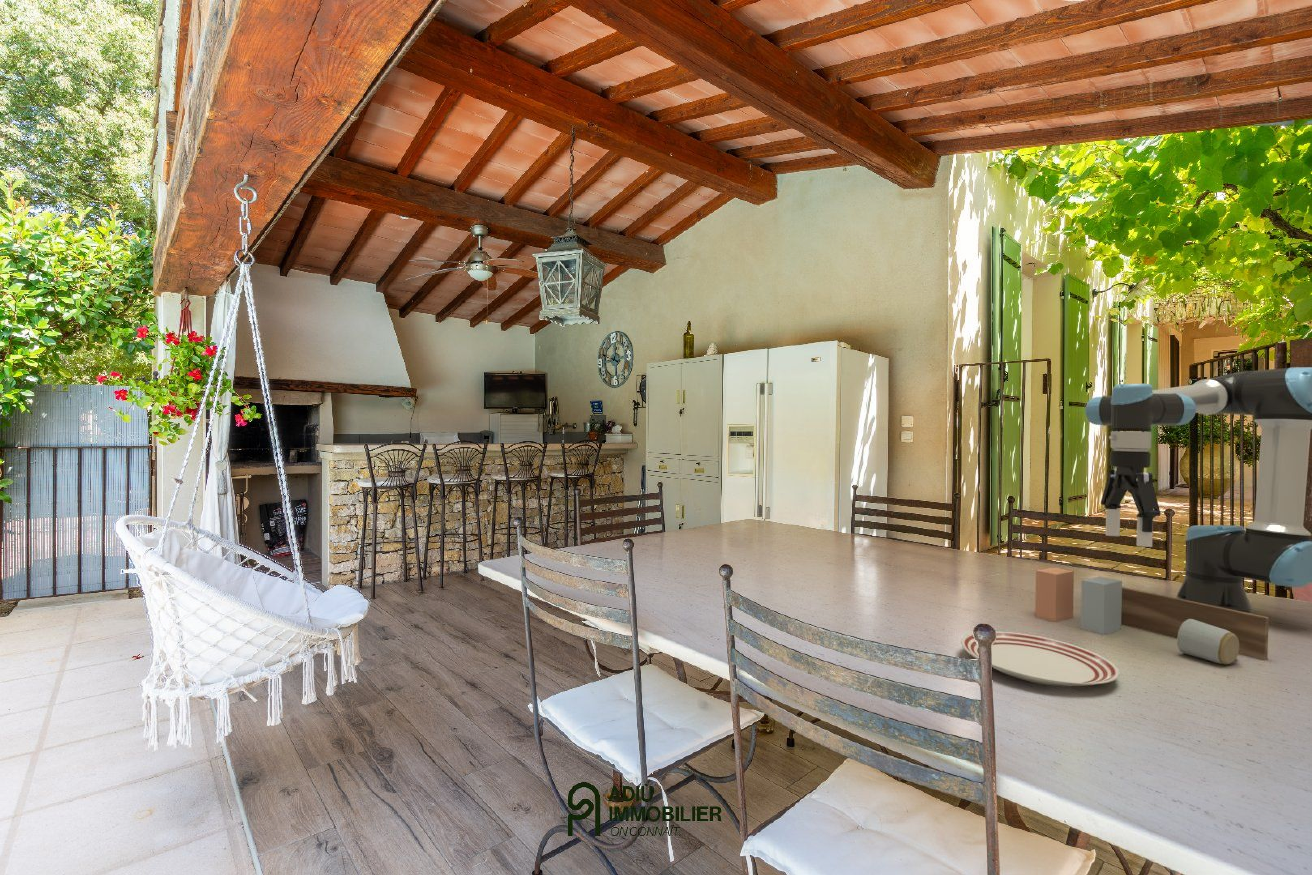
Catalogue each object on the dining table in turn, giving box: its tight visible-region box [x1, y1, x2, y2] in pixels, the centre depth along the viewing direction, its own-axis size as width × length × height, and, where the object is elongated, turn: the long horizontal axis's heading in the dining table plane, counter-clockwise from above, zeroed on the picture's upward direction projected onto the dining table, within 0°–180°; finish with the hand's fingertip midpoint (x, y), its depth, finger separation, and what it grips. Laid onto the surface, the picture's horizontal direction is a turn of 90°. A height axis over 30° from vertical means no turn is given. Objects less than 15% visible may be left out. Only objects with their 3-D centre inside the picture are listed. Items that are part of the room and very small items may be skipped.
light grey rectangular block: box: [1080, 575, 1123, 636], centre depth 150 cm, size 8×5×12 cm, turn 118°
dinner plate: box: [960, 630, 1120, 687], centre depth 126 cm, size 28×27×3 cm
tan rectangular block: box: [1034, 567, 1075, 622], centre depth 160 cm, size 8×5×12 cm, turn 118°
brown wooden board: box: [1121, 586, 1270, 661], centre depth 145 cm, size 1×32×9 cm, turn 28°
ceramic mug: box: [1176, 619, 1239, 666], centre depth 132 cm, size 11×8×8 cm
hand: (1127, 540), depth 143 cm, fingers open, 13 cm apart
